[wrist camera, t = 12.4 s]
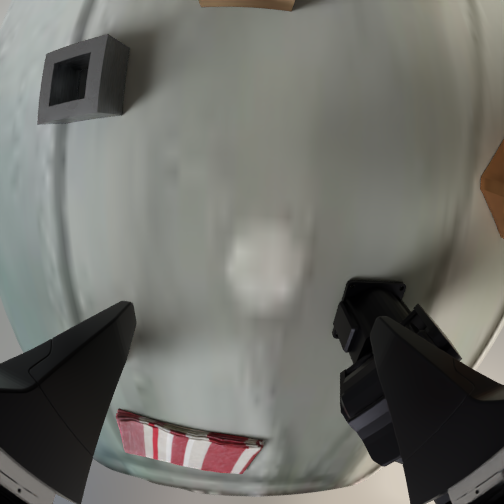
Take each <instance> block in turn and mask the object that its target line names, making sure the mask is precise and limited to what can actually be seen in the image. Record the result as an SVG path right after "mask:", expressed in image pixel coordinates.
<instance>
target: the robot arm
mask: <svg viewBox="0 0 504 504" xmlns="http://www.w3.org/2000/svg"><path fill="white" fill-rule="evenodd" d="M351 285H353V287H350V286H351ZM401 286H402V288H400V287H401ZM405 289H406V285H405V284H404V283H403V282H388V281H363V280H350V281H348V282H347V284H346V287H345V291H344V294H343V298H342V301H341V302H340V303H339V305H338V309H337V312H336V316H335V319H334V322H333V325H334V328H333V332H332V335H333V337H334V338H336V339H339V340H340V343H341V345H342V348H343V350H344V351H345V352H349V354H350V356H351V359H352V361H353V365H352V366H351V367H349V368H348V369H347V370H346V369H345V370H344V371H342V372H341V373H340V407H341V413H342V414H343V416H344V418H345V419H346V421H347V422H348V424H349V425H350V426H351V427H352V428H353V429H354V430H355V431H356V432H357V433H358V435H359V436H360V438H361V439H362V441H363V443H364V444H365V446H366V448H367V450H368V452H369V454H370V456H371V458H372V460H373V461H375V462H376V463H378V464H380V465H381V466H387V465H389V464H390V463H392V462H394V461H395V462H398V463H401V464H403V468H404V472H405V477H406V482H407V487H408V493H409V498H410V504H426V503H428V502H431V501H433V500H434V501H435V503H436V504H504V385H502V384H499V383H497V382H495V381H493V380H492V379H490V378H488V377H486V376H484V375H482V374H480V373H479V372H477V371H475V370H473V369H472V368H470V367H468V366H466V365H465V364H463V363H462V362H460V360H461V359H462V358H461V356H460V355H459V353H458V352H457V350H456V349H455V347H454V346H453V344H452V343H451V342H450V340H449V339H448V338H447V337H446V335H445V334H444V333H443V332H442V330H441V329H440V328H439V327H438V325H437V324H436V323H435V322H434V321H433V320H432V318H431V317H430V316H429V315H428V314H427V313H426V312H425V310H424V309H423V308H422V307H421V306H420V305H419V304H417V305H416V306H415V307H414V310H413V311H412V312H411V311H410V310H409V309H408V307H407V306H406V305H405V304H404V302H403V301H402V298H403V295H404V292H405ZM135 328H136V317H135V311H134V306H133V303H132V302H128V301H120V302H119V303H117V304H115V305H113V306H111V307H109V308H107V309H105V310H104V311H102V312H100V313H98V314H96V315H94V316H92V317H90V318H89V319H87V320H85V321H83V322H81V323H79V324H78V325H76V326H74V327H72V328H70V329H68V330H66V331H65V332H63V333H61V334H59V335H57V336H56V337H54V338H52V339H50V340H48V341H46V342H45V343H43V344H41V345H39V346H37V347H35V348H33V349H31V350H29V351H27V352H25V353H23V354H21V355H18V356H16V357H14V358H12V359H9V360H7V361H5V362H3V363H0V504H53V501H54V497H55V494H57V495H59V496H61V497H63V498H65V499H67V500H69V501H71V502H73V503H76V504H81V502H82V497H83V493H84V489H85V485H86V481H87V477H88V473H89V470H90V466H91V462H92V459H93V455H94V452H95V448H96V445H97V442H98V439H99V435H100V432H101V429H102V426H103V423H104V420H105V417H106V414H107V411H108V408H109V406H110V403H111V400H112V397H113V394H114V392H115V389H116V386H117V384H118V381H119V378H120V376H121V373H122V370H123V368H124V365H125V363H126V360H127V356H128V353H129V349H130V345H131V342H132V338H133V335H134V331H135Z"/></svg>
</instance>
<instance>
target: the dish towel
mask: <svg viewBox="0 0 504 504" xmlns="http://www.w3.org/2000/svg"><path fill="white" fill-rule="evenodd" d="M116 419H117V423H118V426H119V429H120V433H121V437H122V441H123V446H124V450H125V452H126V453H129V454H135V455H139V456H144V457H148V458H153V459H157V460H161V461H165V462H170V463H173V464H177V465H181V466H186V467H192V468H196V469H200V470H205V471H213V472H219V473H238V474H243V472H244V471H245V470H246V468H247V467H248V466H249V464H250V463H251V462H252V461H253V459H254V458H255V457H256V455H257V454H258V453H259V452H260V451H261V449H262V448H263V445H264V443H263V442H264V440H263V441H262V440H257V439H251V438H247V437H241V436H235V435H228V434H221V433H214V432H205V431H199V430H194V429H190V428H185V427H181V426H176V425H172V424H168V423H163V422H160V421H156V420H152V419H149V418H146V417H142V416H139V415H136V414H133V413H130V412H127V411H124V410H121V409H118V413H117V414H116Z"/></svg>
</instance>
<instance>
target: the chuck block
mask: <svg viewBox="0 0 504 504" xmlns="http://www.w3.org/2000/svg"><path fill="white" fill-rule="evenodd" d="M129 51H130V48H129V47H127V46H126V45H124V44H123V43H121V42H120V41H118V40H117V39H115V38H113V37H112V36H110V35H109V34H107V35H103V36H99V37H95V38H92V39H88V40H85V41H82V42H78V43H75V44H72V45H69V46H66V47H64V48H61V49H58V50H55V51H53V52H50V53H48V54H46V59H45V64H44V70H43V76H42V82H41V90H40V98H39V109H38V124H37V125H39V124H66V123H71V122H77V121H83V120H89V119H96V118H103V117H111V116H120V115H122V109H123V98H124V88H125V79H126V71H127V64H128V58H129ZM85 69H88V74H87V81H86V90H85V98H84V99H79V100H77V98H78V89H79V81H80V74H81V71H82V70H85Z"/></svg>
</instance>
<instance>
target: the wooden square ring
mask: <svg viewBox="0 0 504 504" xmlns="http://www.w3.org/2000/svg"><path fill="white" fill-rule="evenodd" d="M294 2H295V0H199V3H200V5H201V7H254V8H267V9H277V10H285V11H292V8H293V5H294Z"/></svg>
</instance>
